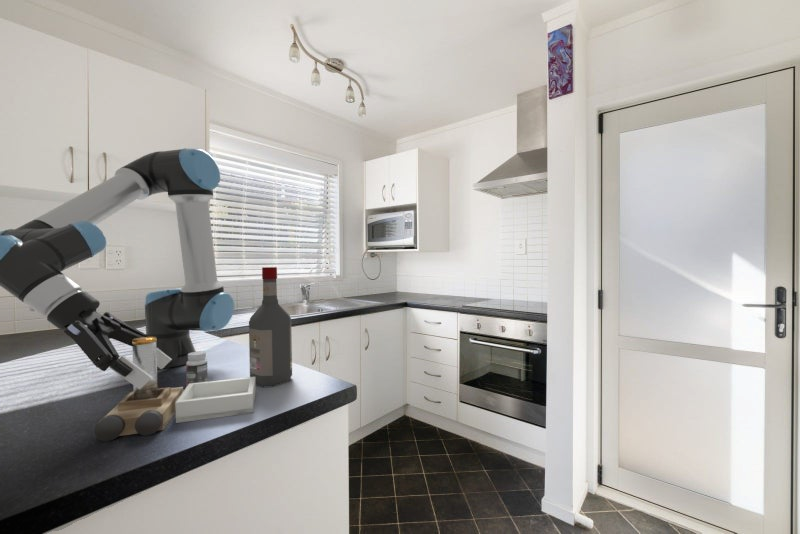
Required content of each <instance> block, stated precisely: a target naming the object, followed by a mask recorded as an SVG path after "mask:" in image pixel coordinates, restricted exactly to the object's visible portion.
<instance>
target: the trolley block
mask: <svg viewBox="0 0 800 534" xmlns="http://www.w3.org/2000/svg"><path fill="white" fill-rule="evenodd" d="M157 389H158V398H152V399H143V400H134V390H133V391H132V390H131V392H129V393H128V394H127V395H126V396H125V397H124V398H123V399H121V400H120V401H119V402H118V403H117V405H116V406H114V408H112V409H111V410H110V411H109V412H108V413H107V414H105V415H104V416H103V417H102V418H101V419H100V420H99V421H98V422H97V424H96V425H95V427H94V430H93V435H94V436H95V437H96V438H97V439H98V440H99V441H103V442H110V441H113V440H115V439H117V438H118V437H121V436H129V435H130V436H131V435H136V434H139V435H141V436H150V435H153V434H155V433H157V432H158V431H163V430H165V428H166V426H167V425H168V424H169V422H170V420H171V419H172V417H174V415H175V414H176V408H175V403H176V401H177V400H178V398H179V397H180V396H181V394H182V393H183V391H184V386H179V387H171V386H170V387H168V386H167V387H161V388H157Z"/></svg>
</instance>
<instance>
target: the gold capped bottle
mask: <svg viewBox="0 0 800 534" xmlns="http://www.w3.org/2000/svg"><path fill="white" fill-rule="evenodd" d="M156 341H157V337H142V338H136V339H133V340H132V346H133V347H132V346H131V347H132V362H133V363H134V364H136V365H137V366H139V367H140V368H141V369H143V370H144V371H145V372H147V373H148V374H149V375H151V376H152V378H151V379H150V380H149V381H148V382H147V383H146V384H145V385H144V386H143V387H142V388H141V389H138V388H137V387H135V386H134V385H133V384H132V386H133V391H134V400H143V399H152V398H158V389H159V388H158V369H157V345H156Z"/></svg>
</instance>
